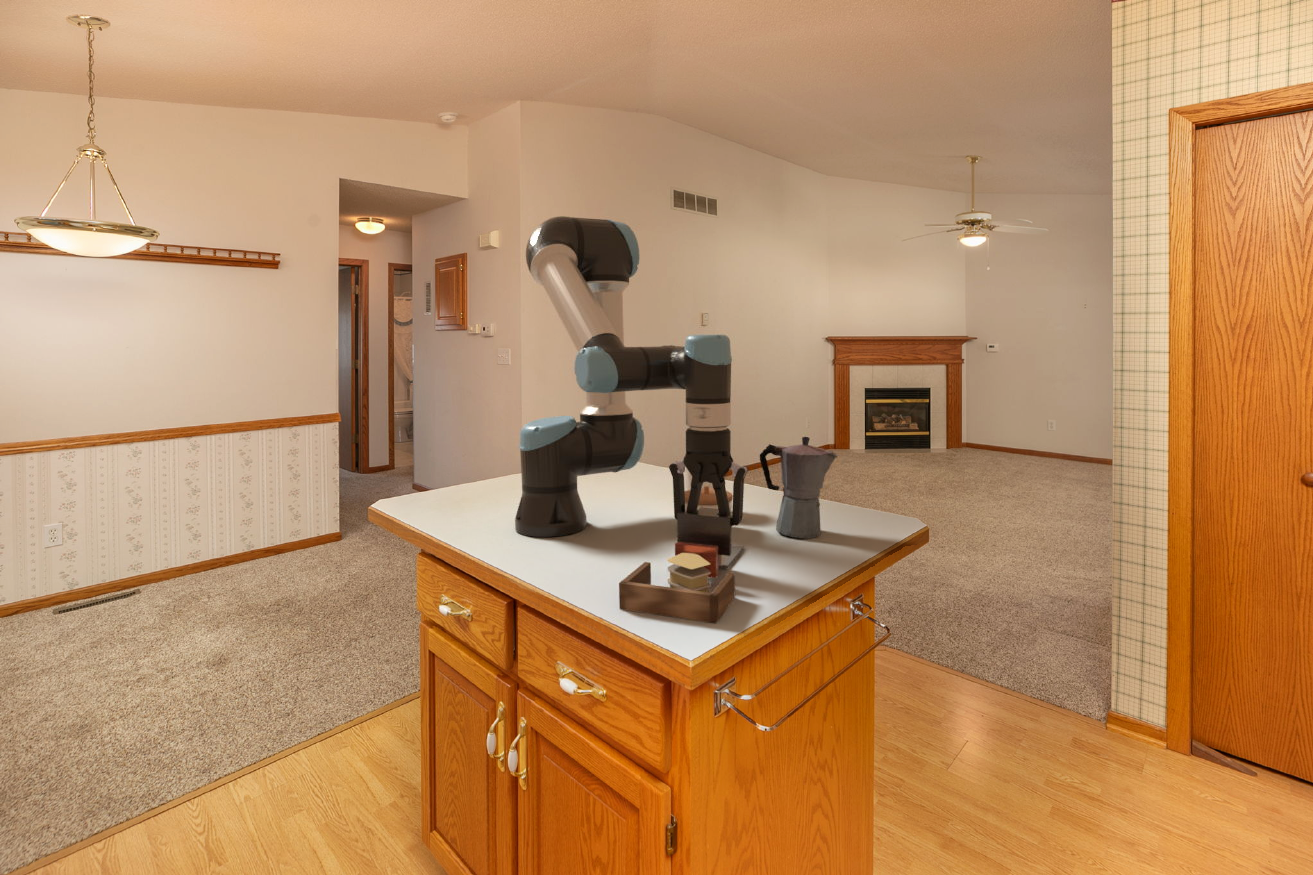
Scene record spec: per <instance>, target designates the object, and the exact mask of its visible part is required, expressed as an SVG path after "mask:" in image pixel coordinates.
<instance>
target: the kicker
mask: <svg viewBox="0 0 1313 875" xmlns="http://www.w3.org/2000/svg"><path fill="white" fill-rule="evenodd" d="M731 517H732V515H731V516H722V515H719V510H718V509H715V508H703V507H701V508H699V509H698V510H697V511H695V512H694V513H689V512H678V513H677V520H676V528H677V529H676V533H677V534H676V538H677V539H676V542H675V543H674V556H676V555H678V554H680V553H695V554H697V555H699V556H701V557H702V558H703V559H705V560H706V561H707V562H709V563H710V565H706V566H704V567H705V568H706V569H708V570H709V571H710V572H711V574H708V578H713V579H716V578H718V577H719V568H718V555H726V556H730V555H731V545H732V527H731Z"/></svg>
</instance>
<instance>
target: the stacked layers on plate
mask: <svg viewBox="0 0 1313 875" xmlns="http://www.w3.org/2000/svg"><path fill="white" fill-rule="evenodd" d="M667 562H668V563H669V564H671V565H669V566H667V570H666V571H667V572H669V578H668V579H667V584H668V585H669V587H671V588H679V589H686V590H693V591H701V592H708V593H709V588H710V587H712V586H711V584H710V582H709V577H708V574H711V572H710V571H709V570H708V569H706V568H705V567H704V566H706V565H710V563H709V562H707V561H706V560H705V559H703V558H702V557H701V556H699V555H697V554H695V553H680V554H678V555H676V556H675V555H674V556H671V557H669V558H668V559H667Z"/></svg>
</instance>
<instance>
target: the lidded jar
mask: <svg viewBox="0 0 1313 875" xmlns="http://www.w3.org/2000/svg"><path fill="white" fill-rule="evenodd" d="M726 493H727V498H728V503H729V508H730V513H731V514H732V507H733V492H730V491H728V490H726ZM689 495H690V490H688V491H685V512H686V510H687V505H688V500H689ZM701 507H703V508H715V509H718V505H717V500H716V495H715V490H714V489H709V486H704V489H701V493H700V498H699V503H698V507H697V510H698V509H699V508H701Z"/></svg>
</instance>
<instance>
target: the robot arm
mask: <svg viewBox="0 0 1313 875" xmlns="http://www.w3.org/2000/svg"><path fill="white" fill-rule="evenodd" d="M639 247H640V246H639V243H638V239H637V237H636V234H635V232H634V230H633V229H632V228H631V227H630V226H629V225H628V224H626V223H625V222H621V221H615V220H612V219H600V218H599V219H598V218H583V217H572V216H571V217H570V216H564V215H562V216H554V217H550V218H548V219H547V220H544V221H543V222H542V223H540V224H538V226H537V227H535V229H534V230H533V231H532V233H531V234H530V236H529V239H528V240H527V243H526V248H525V262H526V265H527V268H528V271H529V272H530V275H531V277H532V279H533V280H534V281H535V282H536V283H537V284H539V285H540V286H543V288H544V290H545V292H546V294H547V295H548V297H549V299H550V301H551V303H552V305H553V306H554V309H555V311H556V313H557V315H558V317H559V318H560V320H561V323H562V324H563V326H564V328H565V329H566V331H567V333H568V335H569V337H570V339H571V342H572V343H573V345H574V347H575V349H576V350H577V354H576V356H575V360H574V375H575V377H576V378H575V381H576V382H577V385H578V387H579V388H580V389H581V390H582V391H583V392H585V397H586V398H585V399H586V402H585V404H586V405H585V406H584V407H583V408H582V409H581V410H580V412H579V421H577V420H576V419H575V416H574V417H573V416H571V415H558V416H548V417H543V418H539V419H535V420H532V421H529V422H526V424H524V425H523V426H522V427H521V429H520V432H519V433H520V434H519V438H520V439H519V447H518V448H519V450H520V452H519V453H520V468H521V470H520V472H521V497H520V500H519V504H518V507H517V512H516V514H515V518H514V525H515V526H514V528H515V531H516V532H517V533H518V534H520V535H524V536H529V537H537V538H538V537H540V538H541V537H542V538H545V537H546V538H547V537H548V538H549V537H550V538H552V537H561V536H568V535H572V534H575V533H579V532H580V531H583V530H585V529H586V527H587V513H586V511H585V508H584V505H583V503H582V500H581V497H580V494H579V490H578V477H579V476H580V477H581V476H587V475H596V474H597V475H598V474H603V473H604V474H605V473H618V472H622V471H625V470H626V471H627V470H631V469H633V468H634V467H635V466H636V465H637V464H638V462H639V461H640V460H641V458H642V455H643V452H644V445H645V433H644V429H642V428H643V426H642V423H641V421H640V420H639V419H637V418H635V417H634V416H633V415H634V414H633V412H634V411H633V410H632V409H631V407H629V405H628V404H627V403H626V392H633V391H655V390H674V389H675V390H676V389H677V390H684V391H685V425H686V426H687V427H688V428H687V429H686V430H685V455H684V457H683V459H682V460H680V461H675V462H673V463H671V464H669V466H668V469H669V471H670V475H671V477H672V488H673V490H672V491H673V493H672V494H673V512H674V517H673V518H674V519H675V520H676V521H677V513H678V512H685V489H684V474H683V473H684V471H685V466H686V468H687V469H688V471H689V472H690V474H691V475H692V481H691V490H690V495H689V500H688V505H687V510H686V512H689V513H694V512H695V511H697V507H698V503H699V498H700V493H701V488H702V485H703V482H709V483H712V485H713V489H714V490H715V495H716V500H717V505H718V510H719V515H722V516H731V528H732V527H734V526H738V525H739V524H741V522H742V521H743V512H744V492H745V491H744V490H745V478H746V476H747V474H748V471H749V468H748V465H740V464H738V463H736V462H734V459H733V457H732V453H731V450H732V449H731V446H732V444H731V441H732V440H731V438H732V437H731V432H732V431H731V429H730V428H728V427H729V426H731V424H732V423H731V422H732V419H731V415H732V414H731V413H732V411H731V410H732V409H731V402H732V401H731V397H732V396H731V395H732V394H731V393H732V392H731V391H732V390H731V389H732V361H733V358H732V352H731V350H732V349H731V339H730V337H729V336H728V335H726V334H690V335H687V337H686V338H685V344H684V346H682V345H681V346H680V345H679V346H678V345H672V344H670V345H661V346H659V345H658V346H625V339H624V338H625V337H624V336H625V333H624V306H623V304H624V300H623V293H624V291H625V290H626V289H627V288H628V287H629V285H630V278H632V277H633V276H634V275H635V274H636V273H637V271H638V269H639V268H638V265H639V264H640V248H639ZM730 470H731V472H732V473H731V476H732V477H733V478H734V479H733V486H732V488H733V490H732V495H733V498H732V510H731V513H730V508H729V503H728V498H727V493H726V491H727V489H726V480H725V476H726V475H727V474H728V472H729V471H730ZM725 561H726V555H718V565H719V566H722V565H723V563H724V562H725Z"/></svg>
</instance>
